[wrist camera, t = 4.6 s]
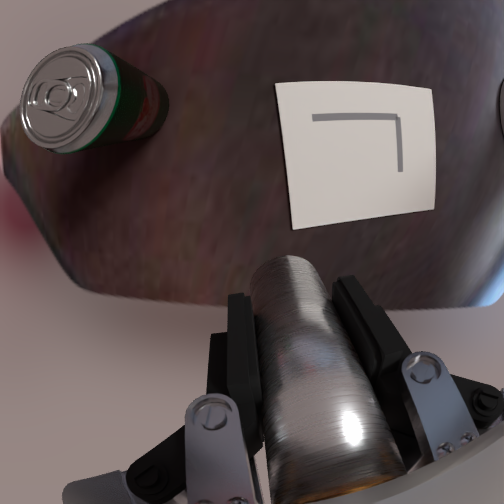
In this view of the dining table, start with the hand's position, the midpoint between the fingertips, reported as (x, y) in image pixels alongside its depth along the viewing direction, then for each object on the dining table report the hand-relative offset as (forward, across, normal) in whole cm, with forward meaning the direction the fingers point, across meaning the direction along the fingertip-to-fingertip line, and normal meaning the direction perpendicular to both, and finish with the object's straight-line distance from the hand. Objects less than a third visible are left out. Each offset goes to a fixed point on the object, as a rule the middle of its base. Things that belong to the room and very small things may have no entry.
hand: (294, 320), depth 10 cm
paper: (+14, -10, -4) cm, 18 cm away
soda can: (+14, +8, -10) cm, 19 cm away
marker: (+2, 0, 0) cm, 2 cm away
